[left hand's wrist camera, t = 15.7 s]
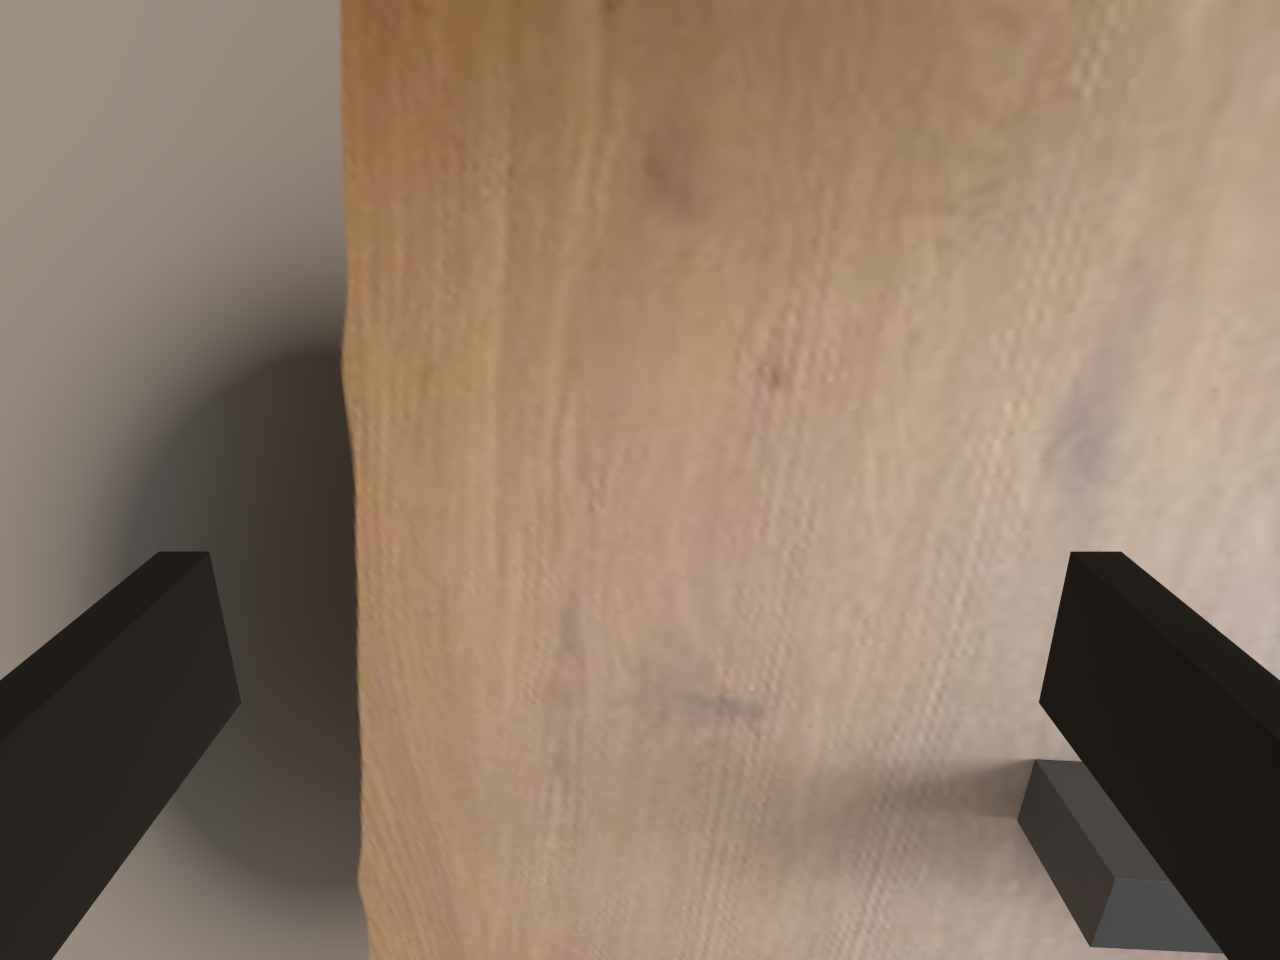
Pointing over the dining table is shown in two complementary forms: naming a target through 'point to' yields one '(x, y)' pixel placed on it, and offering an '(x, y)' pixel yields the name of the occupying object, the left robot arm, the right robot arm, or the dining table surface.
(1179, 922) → the bar
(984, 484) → the dining table surface
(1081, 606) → the left robot arm
